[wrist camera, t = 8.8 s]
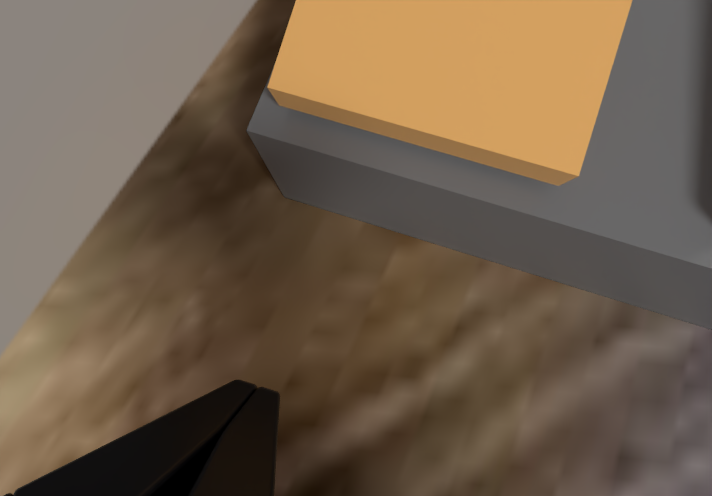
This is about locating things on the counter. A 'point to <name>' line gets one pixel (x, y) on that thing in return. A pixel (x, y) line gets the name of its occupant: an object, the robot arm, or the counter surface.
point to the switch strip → (540, 199)
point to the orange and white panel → (458, 74)
